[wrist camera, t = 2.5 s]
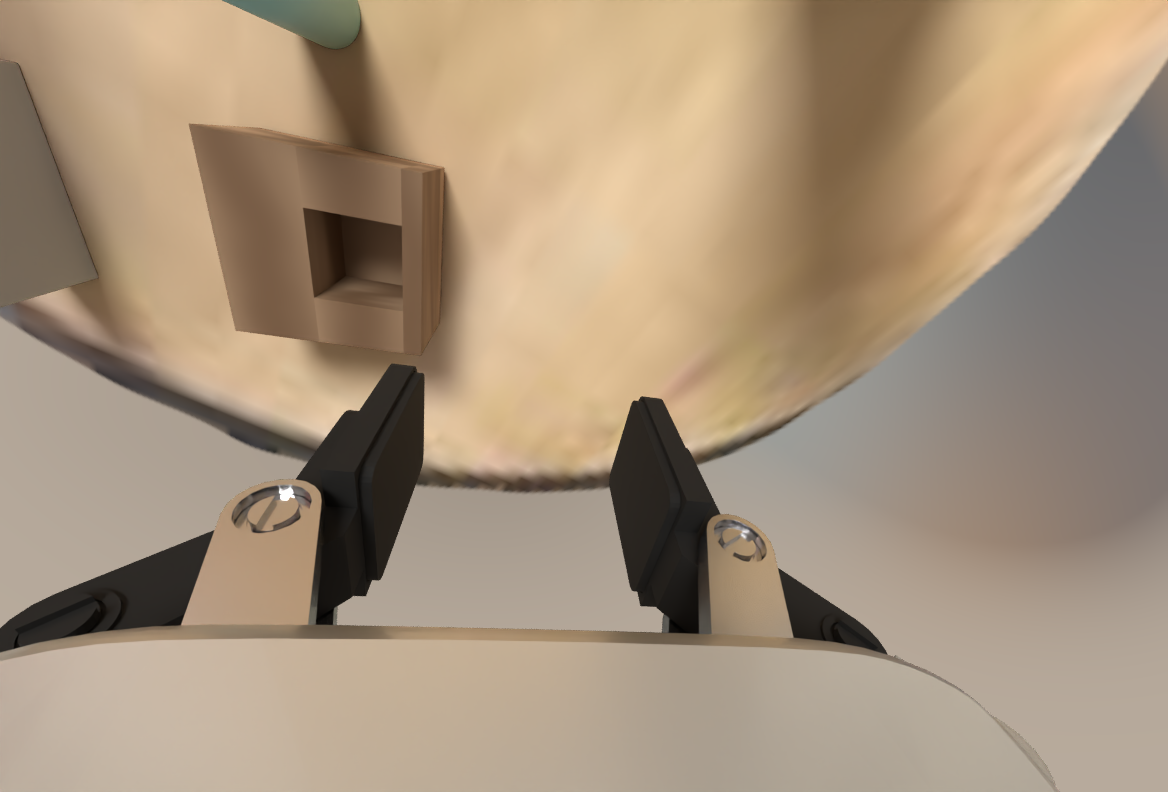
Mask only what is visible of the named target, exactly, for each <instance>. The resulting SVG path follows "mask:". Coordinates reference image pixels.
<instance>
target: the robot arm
mask: <svg viewBox="0 0 1168 792" xmlns="http://www.w3.org/2000/svg"><path fill="white" fill-rule="evenodd" d="M423 451H424V374H423V373H417V369H416V367H414V366H407V365H399V364H391V365H390V366H389V368H388V369H387V371H386V372H385V374H384V375H383V377H382V378H381V380H380V381H379V382H378V384H377V385H376V387H375V388H374V390H373V391H372V393H371V394H370V396H369V397H368V399H367V400H366V402H365V403H364V405H363V406H362V408H361V409H360V411H353V410H348V411H346V412H345V413H344V414H343V415H342V416H341V418H340V419H339V420H338V422H337V423H336V424H335V426H334V427H333V429H332V430H331V431H330V433H329V434H328V435H327V437H326V438H325V440H324V441H323V442H322V444H321V445H320V446H319V448H318V449H317V451H316V452H315V453H314V455H313V456H312V457H311V459H310V460H309V461H308V463H307V464H306V466H305V467H304V468H303V470H302V471H301V472H300V474H299V475H298V477H297V478H296V479H279V480H274V481H269V482H264V483H261V484H258V485H256V486H253V487H250V488H248V489H247V490H245V491H243V492H241V493H239V494H238V495H236V496H235V497H234V498H233V499H232V500H231V501H229V502H228V503H227V504H226V506H225V507H224V509H223V511H222V512H221V514H220V516H219V519H218V522H217V525H216V528H215V530H214V531H211V532H209V533H206V534H204V535H201V536H199V537H196V538H194V539H191V540H189V541H186V542H184V543H181V544H179V545H176V546H174V547H171V548H169V549H166V550H164V551H161V552H159V553H156V554H154V555H151V556H149V557H146V558H144V559H141V560H139V561H136V562H134V563H131V564H129V565H126V566H124V567H121V568H119V569H116V570H114V571H111V572H109V573H106V574H104V575H101V576H99V577H96V578H94V579H91V580H89V581H86V582H84V583H81V584H79V585H77V586H74V587H71V588H69V589H67V590H64V591H62V592H59V593H57V594H54V595H52V596H50V597H48V598H46V599H44V600H42V601H40V602H38V603H36V604H33V605H32V606H30V607H29V608H27V609H26V610H24V611H22V612H21V613H19V614H18V615H16V616H15V617H13V618H12V619H10V620H9V621H8V622H7V623H6V624H5V625H3V626H2V627H1V628H0V792H1060V791H1059V790H1058V789H1057V787H1056V785H1055V782H1054V780H1053V778H1052V776H1051V774H1050V771H1049V769H1048V767H1047V766H1046V764H1045V763H1044V762H1043V760H1042V759H1041V758H1040V756H1039V755H1038V754H1037V752H1036V751H1035V750H1034V749H1033V748H1032V747H1031V746H1030V745H1029V744H1028V743H1027V742H1026V741H1025V740H1024V739H1023V738H1022V737H1021V736H1020V735H1019V734H1018V733H1017V732H1016V731H1014V730H1013V729H1012V728H1010V727H1009V726H1007V725H1006V724H1005V723H1003V722H1002V721H1000V720H999V719H997V718H996V717H994V716H992V715H991V714H990V713H989V712H988V711H987V710H986V709H985V708H983V707H982V706H981V705H980V704H979V703H978V702H977V701H976V700H974V699H973V698H972V697H970V696H969V695H968V694H966V693H965V692H964V691H962V690H961V689H960V688H958V687H957V686H955V685H953V684H951V683H950V682H948V681H946V680H944V679H943V678H941V677H939V676H937V675H935V674H933V673H931V672H929V671H927V670H925V669H923V668H920V667H918V666H915V665H913V664H911V663H908V662H906V661H904V660H902V659H901V658H899V657H898V656H894V657H893V656H890V655H888V654H887V652H886V650H885V649H884V647H883V646H882V645H881V643H880V642H879V640H878V639H877V638H876V637H875V636H874V635H873V634H872V633H871V632H870V631H869V630H868V629H867V628H866V627H865V626H864V625H862V624H861V623H860V622H858V621H857V620H856V619H854V618H853V617H851V616H850V615H848V614H847V613H845V612H844V611H842V610H841V609H839V608H838V607H836V606H835V605H833V604H831V603H830V602H829V601H827V600H826V599H824V598H823V597H821V596H820V595H818V594H817V593H815V592H813V591H812V590H811V589H809V588H807V587H806V586H805V585H803V584H802V583H800V582H798V581H797V580H796V579H794V578H792V577H791V576H789V575H788V574H786V573H785V572H783V571H782V570H780V569H779V568H778V567H777V562H776V558H775V553H774V550H773V547H772V545H771V542H770V541H769V539H768V538H767V537H766V535H765V534H764V533H763V532H762V531H761V530H760V529H758V528H757V527H756V526H755V525H753V524H752V523H750V522H749V521H747V520H745V519H742V518H740V517H737V516H734V515H729V514H720V512H719V510H718V508H717V506H716V504H715V502H714V500H713V498H712V496H711V494H710V492H709V490H708V488H707V486H706V484H705V482H704V480H703V478H702V475H701V474H700V471H699V469H698V467H697V465H696V463H695V461H694V459H693V457H692V455H691V453H690V451H689V450H688V449H687V448H685V445H684V443H683V441H682V439H681V437H680V435H679V433H678V431H677V429H676V427H675V425H674V423H673V421H672V419H671V416H670V414H669V412H668V410H667V408H666V406H665V404H664V402H663V400H662V399H658V398H650V397H643V396H642V397H640V399H639V401H633V402H632V404H631V407H630V411H629V414H628V417H627V420H626V424H625V427H624V430H623V434H622V437H621V440H620V444H619V447H618V450H617V453H616V457H615V460H614V463H613V467H612V470H611V473H610V479H609V485H610V491H611V496H612V501H613V505H614V510H615V515H616V520H617V525H618V530H619V535H620V540H621V545H622V549H623V554H624V559H625V564H626V569H627V573H628V579H629V583H630V587H631V589H632V591H637V592H638V597H639V601H640V606H650V607H657V608H658V609H659V610H660V611H661V612H662V613H664V615H663V622H662V633H652V632H619V631H618V632H617V631H580V630H578V631H577V630H541V629H540V630H539V629H498V628H496V629H495V628H454V627H452V628H451V627H402V626H401V627H400V626H399V627H398V626H350V625H337V610H338V607H337V606H338V605H340V604H342V603H343V602H345V601H346V600H348V599H350V598H351V597H352V596H366V594H367V592H368V589H369V587H370V584H371V581H372V580H380V579H381V578H382V576H383V573H384V570H385V568H386V565H387V562H388V559H389V556H390V554H391V551H392V548H393V546H394V543H395V540H396V537H397V535H398V532H399V529H400V526H401V524H402V521H403V518H404V515H405V513H406V510H407V507H408V504H409V502H410V498H411V496H412V493H413V491H414V488H415V485H416V482H417V480H418V477H419V474H420V471H421V468H422V464H423Z"/></svg>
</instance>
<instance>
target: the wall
mask: <svg viewBox="0 0 1168 792" xmlns="http://www.w3.org/2000/svg"><path fill="white" fill-rule="evenodd" d="M96 278H98V275H97V273H96V270H95V267H94V265H93V262H92V259H91V257H90V254H89V251H88V249H87V246H86V243H85V241H84V238H83V235H82V233H81V230H80V227H79V225H78V222H77V219H76V217H75V214H74V212H73V209H72V206H71V204H70V201H69V198H68V196H67V193H66V190H65V188H64V185H63V182H62V180H61V177H60V174H59V172H58V169H57V166H56V164H55V161H54V158H53V156H52V153H51V150H50V148H49V145H48V142H47V140H46V137H45V134H44V132H43V129H42V126H41V124H40V121H39V118H38V116H37V113H36V111H35V108H34V105H33V103H32V100H31V97H30V95H29V92H28V89H27V87H26V84H25V81H24V79H23V76H22V73H21V71H20V68H19V65H18V63H15V62H10V61H5V60H1V59H0V308H1V307H4V306H7V305H10V304H14V303H17V302H20V301H24V300H27V299H30V298H34V297H37V296H40V295H43V294H47V293H50V292H53V291H57V290H60V289H63V288H67V287H70V286H73V285H77V284H80V283H83V282H86V281H90V280H93V279H96Z"/></svg>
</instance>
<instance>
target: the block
mask: <svg viewBox="0 0 1168 792" xmlns="http://www.w3.org/2000/svg"><path fill="white" fill-rule="evenodd" d="M189 127H190V131H191V136H192V140H193V145H194V149H195V153H196V158H197V162H198V167H199V171H200V175H201V180H202V184H203V189H204V193H205V197H206V202H207V206H208V211H209V215H210V219H211V224H212V228H213V233H214V237H215V241H216V246H217V250H218V255H219V259H220V263H221V268H222V272H223V277H224V281H225V285H226V290H227V294H228V299H229V303H230V307H231V312H232V316H233V321H234V325H235V329H236V331H243V332H250V333H257V334H265V335H272V336H279V337H287V338H294V339H301V340H309V341H316V342H324V343H331V344H338V345H346V346H353V347H360V348H368V349H375V350H382V351H390V352H397V353H405V354H412V355H419V356H421V355H422V353H423V351H424V349H425V348H426V346H427V344H428V342H429V340H430V339H431V337H432V335H433V333H434V332H435V330H436V328H437V326H438V324H439V323H440V293H441V261H442V228H443V196H444V167H439V166H434V165H430V164H425V163H420V162H416V161H411V160H406V159H402V158H397V157H392V156H388V155H383V154H379V153H374V152H369V151H365V150H360V149H355V148H351V147H346V146H341V145H337V144H332V143H327V142H323V141H318V140H314V139H309V138H304V137H300V136H295V135H290V134H286V133H281V132H276V131H272V130H267V129H262V128H253V127H236V126H219V125H202V124H189Z"/></svg>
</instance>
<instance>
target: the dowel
mask: <svg viewBox="0 0 1168 792" xmlns="http://www.w3.org/2000/svg"><path fill="white" fill-rule="evenodd" d="M222 1H225V2H227V3H229V4H231V5H233V6H236V7H238V8H240V9H242V10H245V11H247V12H249V13H251V14H253V15H256V16H258V17H260V18H262V19H264V20H267V21H269V22H271V23H273V24H275V25H278V26H280V27H282V28H284V29H286V30H289V31H291V32H293V33H295V34H297V35H300V36H302V37H304V38H306V39H308V40H311V41H313V42H315V43H317V44H319V45H322V46H324V47H327V48H331V49H341V48H345V47H347V46H349V45H350V44H351V43H352V42H353V41H354V40H355V38H356V37H357V35H358V32H359V28H360V20H361V16H360V9H359V4H358V1H357V0H222Z"/></svg>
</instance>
